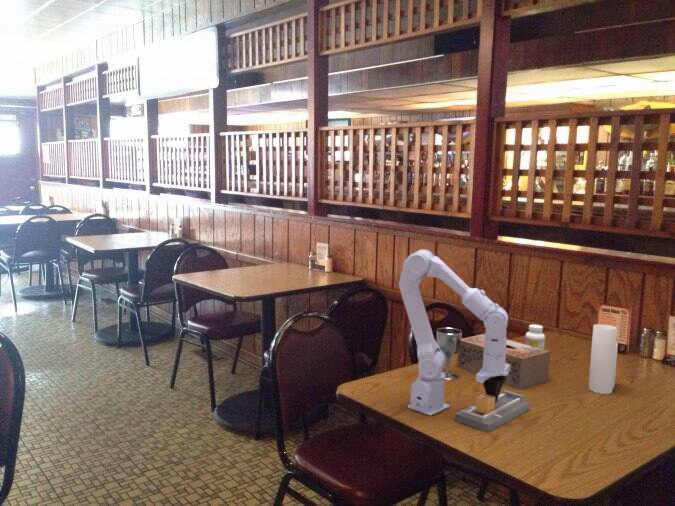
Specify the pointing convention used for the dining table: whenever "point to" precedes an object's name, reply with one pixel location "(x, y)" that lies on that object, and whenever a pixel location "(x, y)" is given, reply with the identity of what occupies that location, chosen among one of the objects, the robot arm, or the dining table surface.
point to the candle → (603, 359)
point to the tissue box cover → (508, 361)
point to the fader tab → (485, 403)
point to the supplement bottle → (535, 337)
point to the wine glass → (449, 346)
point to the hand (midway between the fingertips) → (491, 402)
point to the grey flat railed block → (494, 412)
